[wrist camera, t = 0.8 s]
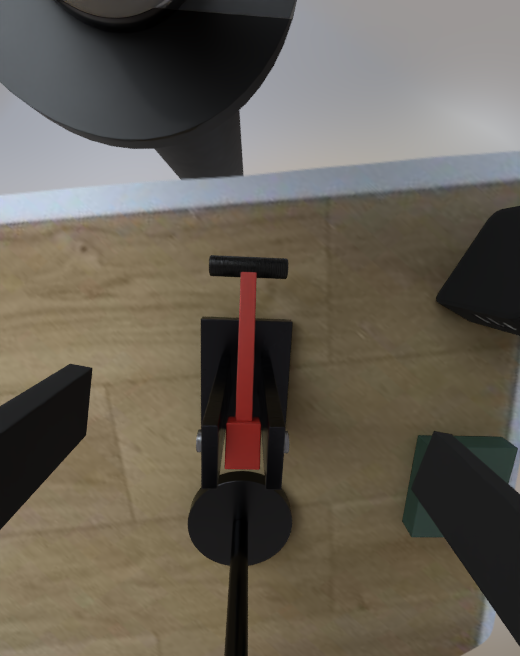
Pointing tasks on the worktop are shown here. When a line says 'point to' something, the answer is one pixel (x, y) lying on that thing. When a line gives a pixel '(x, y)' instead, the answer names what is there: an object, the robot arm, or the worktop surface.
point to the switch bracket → (222, 389)
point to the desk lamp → (239, 538)
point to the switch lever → (245, 355)
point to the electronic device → (489, 276)
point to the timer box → (487, 449)
